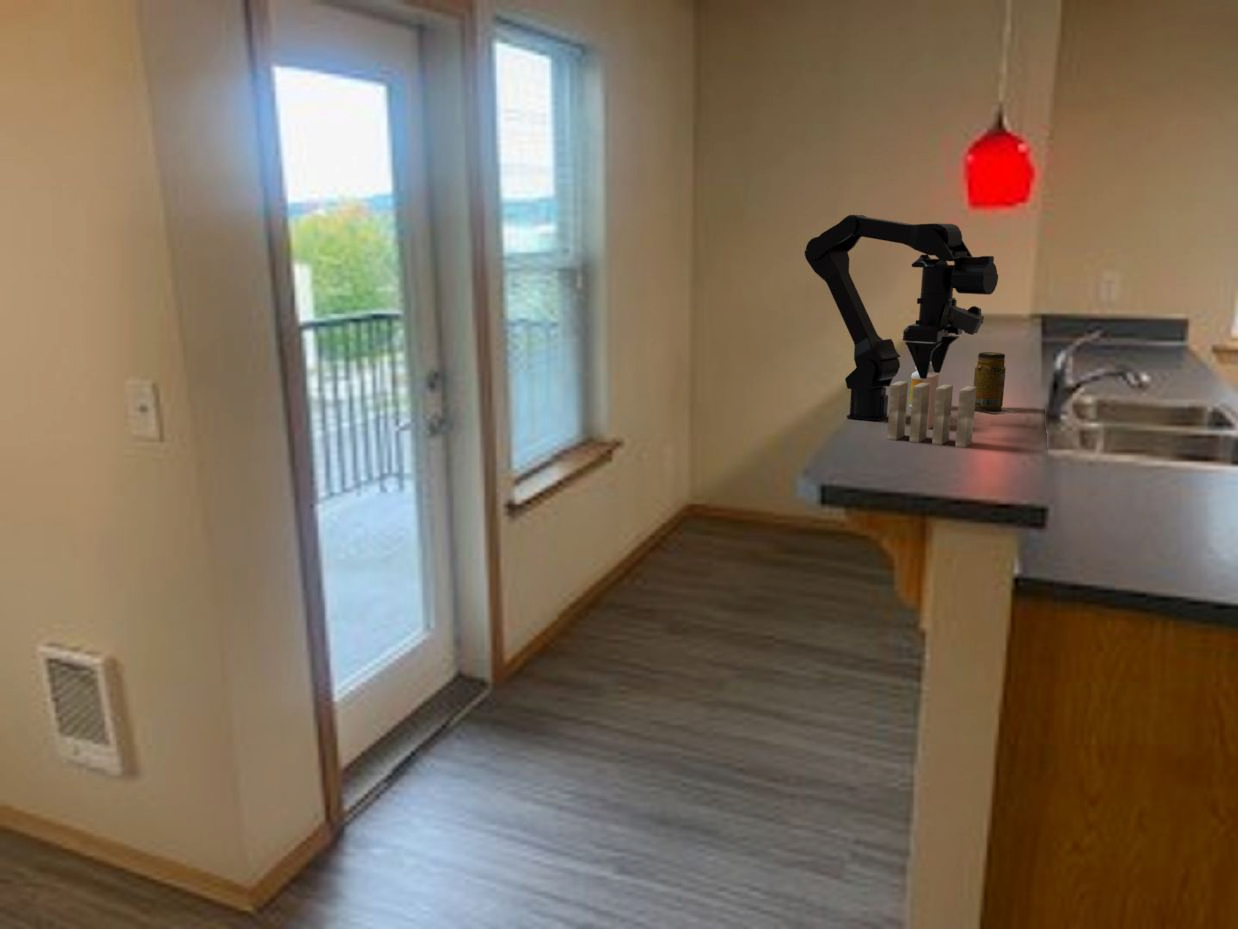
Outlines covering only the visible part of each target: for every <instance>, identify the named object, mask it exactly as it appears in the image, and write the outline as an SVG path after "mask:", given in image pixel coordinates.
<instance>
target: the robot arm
mask: <svg viewBox="0 0 1238 929" xmlns="http://www.w3.org/2000/svg"><path fill="white" fill-rule="evenodd" d="M861 238H867V239H875V240H879V241H885V242H890V243H897V244H902V245H905V246H908V247H910V248H911V249H912V250H915V251H917V252H920V253H922V254H920V256H919V258H917V259H916V260H915V261H914V262H913V263H911V267H912V268H922V271H921V272H922V273H921V286H920V297H917V299H916V304H917V305H918V304H919V312H918V319H916V320H915V323H913V324H910V325H908V326H906V328H904V329H903V334H902V336H903V337H902V341H904V344H905V345H906V346H907V348H908V351H909V353H910V355H911V357H912V360H913V363H914V365H915V366H916V368H917V371H918V373H919V376H920V378H921V379H926V378H927V375H928V371H929V367H930V363H932V367H933V372H935V373H936V374H939V373H941V371H942V368H943V365H944V362H945V359H946V356H947V353H948V351H949V348H950V346H951V344H952V343H954V342H955V341H957V340H958V339H959V338H960V336H959V335H962V334H963V331H964V333H965V334H968V335H974V334H977V333H978V332H979V329H980V328H981V326H982V325H983V324H984V319H985V316H984V315H982V308H980V307H978V306H976V305H973V306H970V307H969V308H968V309H966V308H962V307H959V306H957V299H956V297H953V295H954V289H955V291H956V292H957V293H958V294H962V295H963V294H966V295H984V296H985V295H988V296H989V295H992V294H993V293H994V292H995V290H996V288H997V285H998V280H999V274H998V270H997V266H996V264H995V262H994V260H995V257H994V256H993V255H982V256H973V255H972V254H971V252H970V249H968V247H967V246H966V244H965V242H964V241H963V234H962V231H961V230H960V227H959V226H958V225H956V224H954V223H918V224H913V223H906V222H902V221H901V222H899V221H892V220H888V219H882V218H875V217H868V216H866V215H863V214H849V215H848V216H845V217H844V218H843V219H841V220H840V221H839V222H838V223H837V224H835V225H833V226H832V227H830V228H828V229H826V230H825V231H823V232H822V233H821V234H819V236H816V237H815V236H814V237H812V238H811V239H810V240H809V241H808V243H807V245H806V247H805V249H804V256H805V260H806V261H807V263H808V265H809V267H810V268H811V269H812V270H813V272H814V273H815V274H816V275H817V276H818V277H820V279H822V280H823V281H824V282H825V283H826V285H827V287H828V289H829V291H830V294H831V296H832V298H833V301H834V302H835V305H836V307H837V309H838V311H839V313H840V315H841V318H842V320H843V322H844V325H845V326H846V328H847V330H848V333H849V336H850V337H851V339H852V342H853V344H854V349H853V354H854V355H853V360H854V364H855V367H856V368H855V369H853V370H852V371H851V372H850V373H849V374H848V375H847V376H845V378H844V379H845V383H846V387H847V388H846V389H849V390H850V403H849V404H850V406H849V414H847V415H846V418H847V419H854V418H855V420H865V421H874V422H875V421H876V422H877V421H880V420H882V419H884V418H886V417H887V416H888V409H889V408H888V406H889V405H888V404H889V395H888V394H887V387H891V384H892V381H893V379H894V378H895V377H896V376H897V374H898V373H899V370H900V367H901V363H900V359H899V358H901V354H899V353H898V351H897V350H896V348H895V344H894V341H893V339H891V338H885V339H883V338H881V337H880V336H879V335H878V333H877V331H876V328H875V326H874V325H873V322H872V320H871V317H870V315H869V314H868V312H867V310H866V307H865V304H864V302H863V301H862V298H861V297H860V294H859V292H858V290H857V287H856V286H855V282H854V281H853V279H852V277H851V274H850V256H849V252H850V251H851V250H852V249H853V248H855V246H856V245H858V242H859V241H860V239H861ZM930 256H935V257H936V258H931V257H930ZM948 262H953V264H949V263H948ZM953 334H954V335H953ZM915 366H914V367H915Z"/></svg>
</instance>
